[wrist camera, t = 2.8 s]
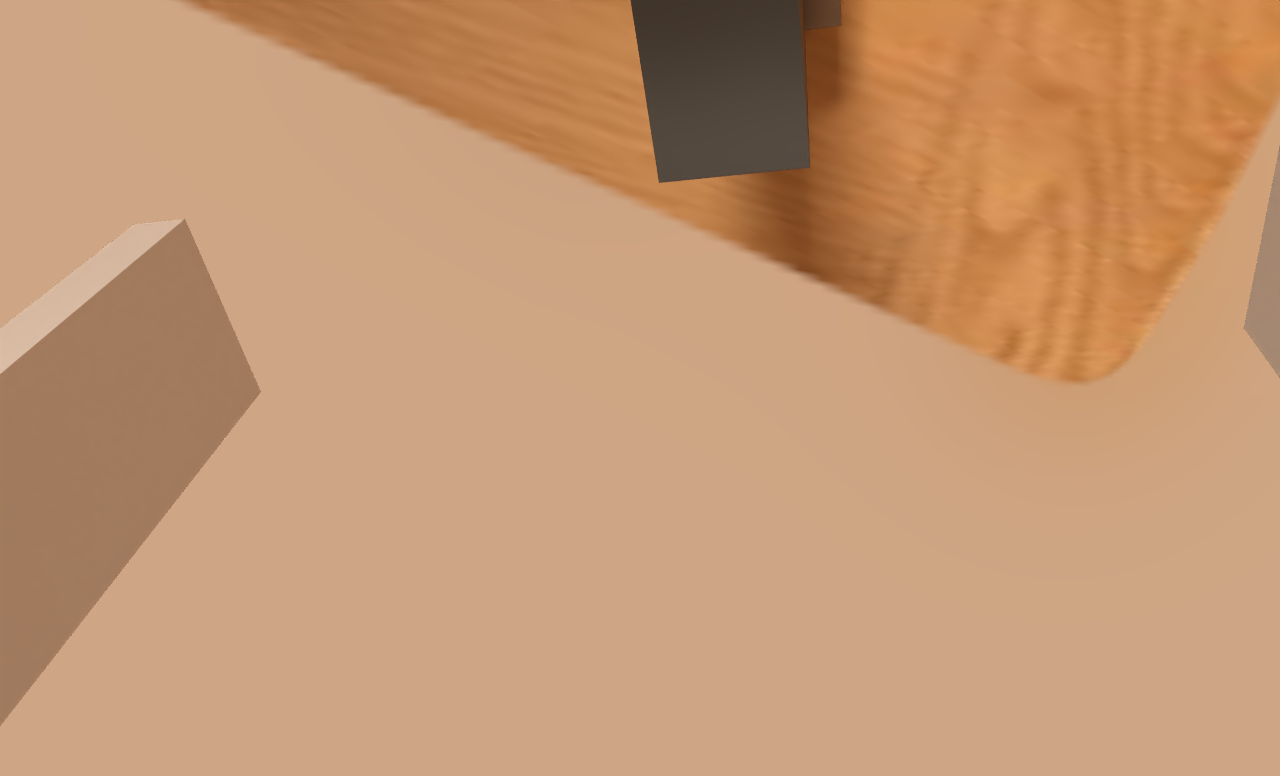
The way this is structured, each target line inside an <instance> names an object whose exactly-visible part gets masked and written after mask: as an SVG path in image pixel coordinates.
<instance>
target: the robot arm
mask: <svg viewBox="0 0 1280 776" xmlns="http://www.w3.org/2000/svg"><path fill="white" fill-rule="evenodd" d="M1244 329H1245V330H1246V332H1247V333H1248V334H1249V336H1250V337H1251V339H1252V340H1253V341H1254V343H1255V344H1256V345H1257V347H1258V348H1259V350H1260V351H1261V352H1262V354H1263V355H1264V357H1265V358H1266V359H1267V361H1268V362H1269V363H1270V365H1271V366H1272V368H1273V369H1274V370H1275V372H1276V373H1277V375H1278V376H1279V377H1280V148H1279V153H1278V158H1277V163H1276V168H1275V173H1274V178H1273V183H1272V188H1271V193H1270V198H1269V203H1268V209H1267V213H1266V219H1265V224H1264V229H1263V234H1262V239H1261V244H1260V249H1259V254H1258V259H1257V264H1256V269H1255V274H1254V279H1253V284H1252V290H1251V294H1250V299H1249V305H1248V309H1247V314H1246V320H1245V325H1244ZM260 392H261V391H260V389H259V387H258V385H257V382H256V380H255V378H254V376H253V373H252V372H251V369H250V366H249V364H248V362H247V360H246V357H245V355H244V353H243V351H242V348H241V346H240V344H239V341H238V339H237V337H236V335H235V332H234V330H233V328H232V325H231V323H230V321H229V319H228V316H227V314H226V312H225V310H224V307H223V305H222V303H221V300H220V298H219V296H218V294H217V291H216V289H215V287H214V284H213V282H212V280H211V278H210V275H209V273H208V271H207V268H206V266H205V264H204V262H203V259H202V257H201V255H200V253H199V250H198V248H197V246H196V244H195V241H194V239H193V237H192V234H191V232H190V230H189V228H188V225H187V223H186V221H185V219H180V220H170V221H160V222H151V223H141V224H133V225H132V226H131V227H129V228H128V229H127V230H126V231H124V232H123V233H122V234H120V235H119V236H118V237H117V238H115V239H114V240H113V241H111V242H110V243H109V244H108V245H106V246H105V247H104V248H103V249H101V250H100V251H99V252H97V253H96V254H95V255H94V256H92V257H91V258H90V259H88V260H87V261H86V262H85V263H83V264H82V265H81V266H80V267H78V268H77V269H76V270H74V271H73V272H72V273H71V274H69V275H68V276H67V277H65V278H64V279H63V280H62V281H61V282H59V283H58V284H57V285H55V286H54V287H53V288H51V289H50V290H49V291H48V292H46V293H45V294H44V295H42V296H41V297H40V298H39V299H37V300H36V301H35V302H33V303H32V304H31V305H30V306H29V307H27V308H26V309H25V310H23V311H22V312H21V313H20V314H18V315H17V316H16V317H14V318H13V319H12V320H11V321H9V322H8V323H7V324H5V325H4V326H3V327H2V328H0V726H1V724H2V723H3V722H4V721H5V719H6V718H7V717H8V715H9V714H10V713H11V712H12V710H13V709H14V708H15V706H16V705H17V704H18V703H19V701H20V700H21V699H22V697H23V696H24V695H25V694H26V692H27V691H28V690H29V689H30V687H31V686H32V685H33V683H34V682H35V681H36V679H37V678H38V677H39V676H40V674H41V673H42V672H43V671H44V669H45V668H46V667H47V665H48V664H49V663H50V662H51V660H52V659H53V658H54V656H55V655H56V654H57V653H58V651H59V650H60V649H61V647H62V646H63V645H64V644H65V642H66V641H67V640H68V639H69V637H70V636H71V635H72V633H73V632H74V631H75V629H76V628H77V627H78V626H79V624H80V623H81V622H82V621H83V619H84V618H85V616H86V615H87V614H88V613H89V612H90V610H91V609H92V608H93V606H94V605H95V604H96V603H97V601H98V600H99V599H100V597H101V596H102V595H103V593H104V592H105V591H106V590H107V588H108V587H109V586H110V585H111V583H112V582H113V580H115V578H116V577H117V576H118V574H119V573H120V572H121V571H122V569H123V568H124V567H125V565H126V564H127V563H128V562H129V560H130V559H131V558H132V556H133V555H134V554H135V553H136V551H137V550H138V549H139V547H140V546H141V545H142V544H143V542H144V541H145V540H146V538H147V537H148V536H149V535H150V533H151V532H152V531H153V529H154V528H155V527H156V525H157V524H158V523H159V522H160V520H161V519H162V518H163V517H164V515H165V514H166V513H167V512H168V510H169V509H170V508H171V506H172V505H173V504H174V502H175V501H176V500H177V499H178V497H179V496H180V495H181V493H182V492H183V491H184V490H185V488H186V487H187V486H188V485H189V483H190V482H191V481H192V479H193V478H194V477H195V476H196V474H197V473H198V472H199V470H200V469H201V468H202V467H203V465H204V464H205V463H206V462H207V460H208V459H209V458H210V456H211V455H212V454H213V453H214V451H215V450H216V449H217V447H218V446H219V445H220V444H221V442H222V441H223V440H224V438H225V437H226V436H227V435H228V433H229V432H230V431H231V429H232V428H233V427H234V425H235V424H236V423H237V422H238V420H239V419H240V418H241V416H242V415H243V414H244V413H245V411H246V410H247V409H248V408H249V406H250V405H251V404H252V403H253V401H254V400H255V399H256V397H257V396H258V395H259V394H260Z"/></svg>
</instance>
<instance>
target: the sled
mask: <svg viewBox="0 0 1280 776" xmlns="http://www.w3.org/2000/svg"><path fill="white" fill-rule="evenodd" d="M631 5H632V12H633V18H634V25H635V31H636V38H637V44H638V50H639V57H640V63H641V70H642V76H643V82H644V89H645V95H646V102H647V108H648V115H649V121H650V127H651V134H652V140H653V147H654V153H655V159H656V166H657V172H658V179H659V183H662V182H671V181H681V180H691V179H701V178H711V177H721V176H731V175H741V174H751V173H761V172H771V171H780V170H790V169H800V168H810V155H809V128H808V102H807V76H806V49H805V30H809V29H817V28H825V27H832V26H840V25H841V4H840V0H631Z"/></svg>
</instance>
